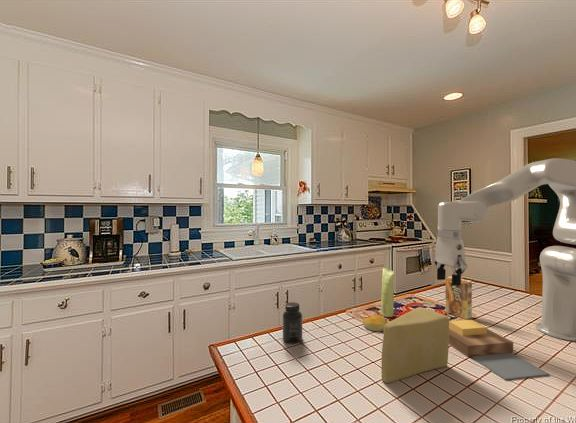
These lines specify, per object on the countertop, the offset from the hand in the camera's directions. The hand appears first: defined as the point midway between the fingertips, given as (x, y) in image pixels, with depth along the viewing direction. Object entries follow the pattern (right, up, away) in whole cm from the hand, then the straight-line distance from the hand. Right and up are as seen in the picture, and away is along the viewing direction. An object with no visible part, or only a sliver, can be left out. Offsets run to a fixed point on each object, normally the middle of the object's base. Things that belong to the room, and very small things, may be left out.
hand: (448, 281), depth 101 cm
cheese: (-26, -18, -25) cm, 40 cm away
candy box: (+12, -18, +13) cm, 25 cm away
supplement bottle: (-58, -18, -8) cm, 62 cm away
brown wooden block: (+2, -18, -10) cm, 21 cm away
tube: (-18, -18, +13) cm, 28 cm away
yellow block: (+1, -14, -9) cm, 17 cm away
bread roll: (-27, -18, +2) cm, 32 cm away
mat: (+4, -18, -23) cm, 30 cm away
